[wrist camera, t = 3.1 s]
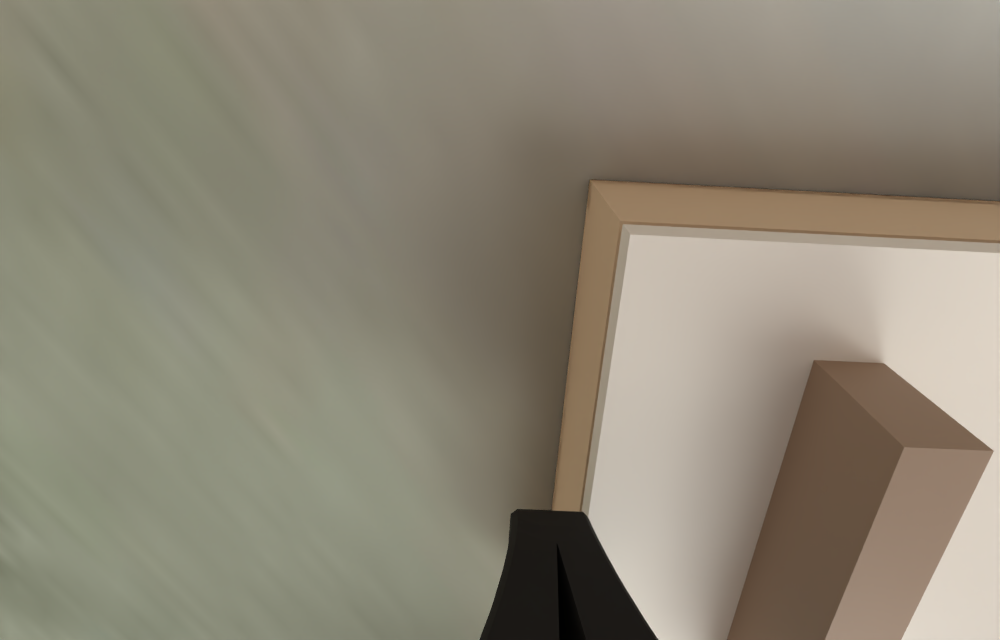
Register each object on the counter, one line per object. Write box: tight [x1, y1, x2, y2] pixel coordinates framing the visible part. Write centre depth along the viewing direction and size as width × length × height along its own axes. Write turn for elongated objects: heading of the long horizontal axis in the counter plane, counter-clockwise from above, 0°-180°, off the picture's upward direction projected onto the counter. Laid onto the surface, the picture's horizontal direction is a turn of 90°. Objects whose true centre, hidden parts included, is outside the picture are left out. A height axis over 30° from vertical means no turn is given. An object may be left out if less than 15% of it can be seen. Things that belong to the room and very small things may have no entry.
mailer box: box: [552, 180, 1000, 512], centre depth 14 cm, size 12×20×4 cm, turn 87°
